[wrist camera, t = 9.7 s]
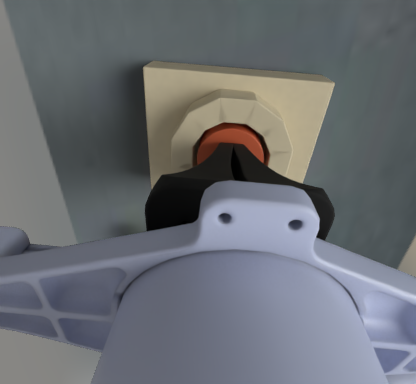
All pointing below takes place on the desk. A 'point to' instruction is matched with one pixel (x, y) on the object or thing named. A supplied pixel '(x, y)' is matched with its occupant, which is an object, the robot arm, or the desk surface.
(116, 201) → the desk surface
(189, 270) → the robot arm
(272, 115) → the control block
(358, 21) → the desk surface
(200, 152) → the button
